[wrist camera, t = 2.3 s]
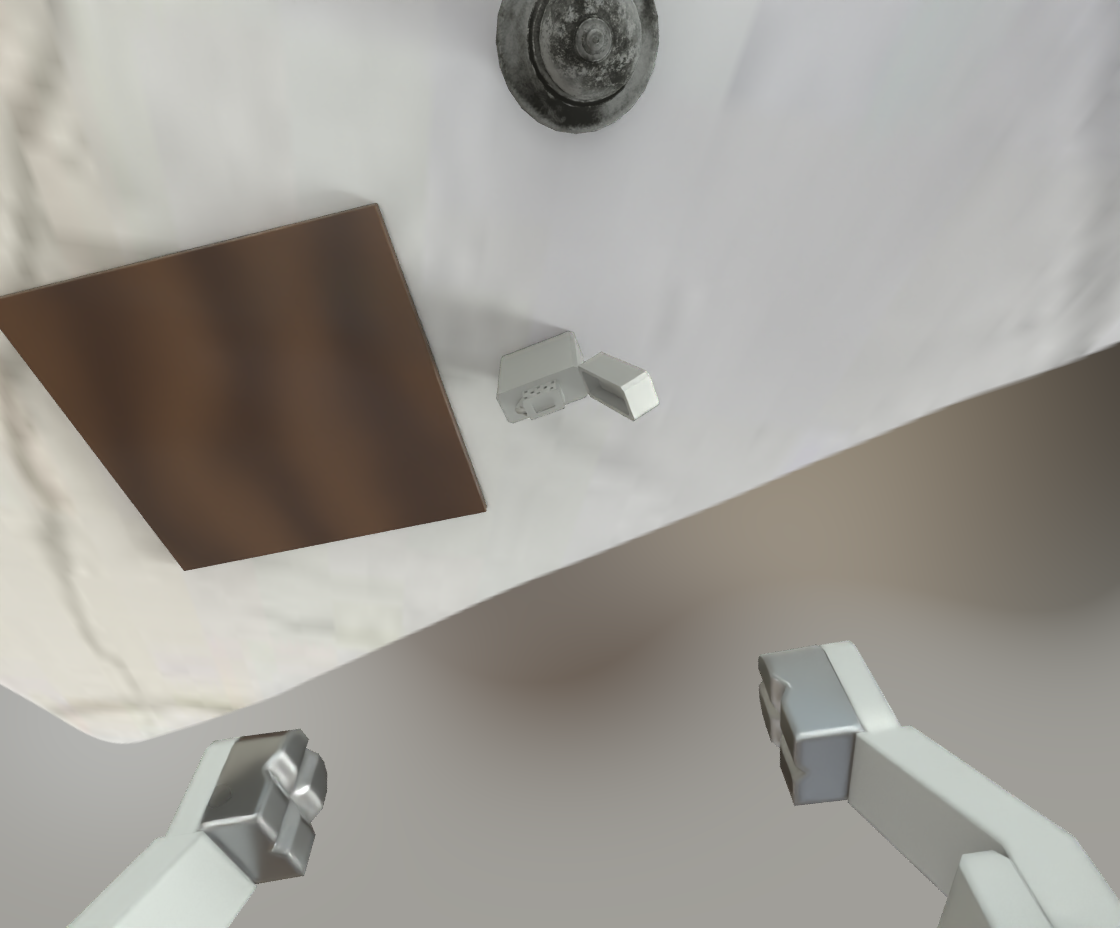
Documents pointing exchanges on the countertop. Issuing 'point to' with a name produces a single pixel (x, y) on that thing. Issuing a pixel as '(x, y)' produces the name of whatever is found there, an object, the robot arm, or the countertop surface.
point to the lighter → (569, 381)
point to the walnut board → (255, 389)
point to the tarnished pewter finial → (577, 58)
